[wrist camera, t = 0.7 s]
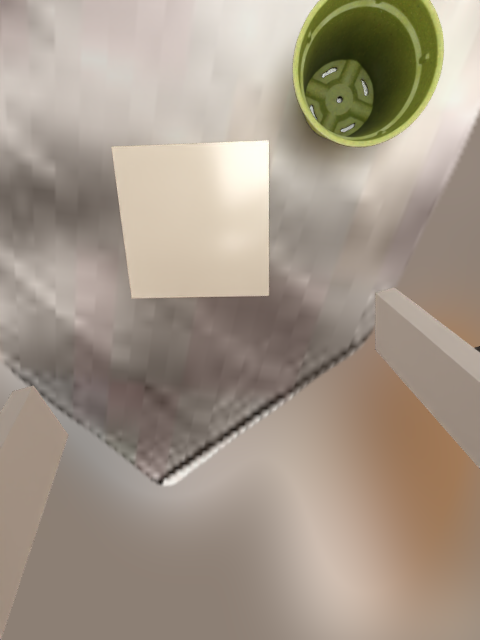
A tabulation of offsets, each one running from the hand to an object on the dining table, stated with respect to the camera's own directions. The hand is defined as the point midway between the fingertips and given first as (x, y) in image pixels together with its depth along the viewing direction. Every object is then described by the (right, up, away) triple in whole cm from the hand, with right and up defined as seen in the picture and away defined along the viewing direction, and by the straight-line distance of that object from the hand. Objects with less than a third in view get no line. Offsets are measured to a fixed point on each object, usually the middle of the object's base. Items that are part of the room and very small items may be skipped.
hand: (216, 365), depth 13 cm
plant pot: (+9, +21, +17) cm, 29 cm away
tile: (-3, +11, +21) cm, 24 cm away
